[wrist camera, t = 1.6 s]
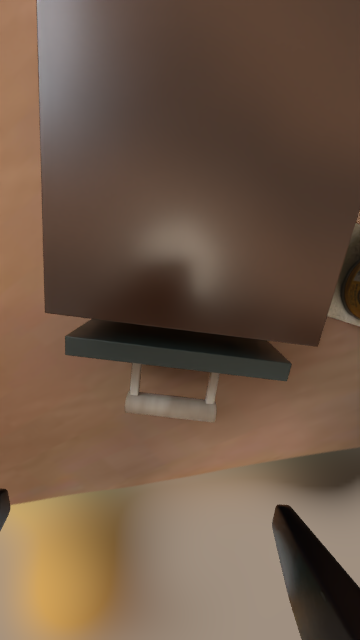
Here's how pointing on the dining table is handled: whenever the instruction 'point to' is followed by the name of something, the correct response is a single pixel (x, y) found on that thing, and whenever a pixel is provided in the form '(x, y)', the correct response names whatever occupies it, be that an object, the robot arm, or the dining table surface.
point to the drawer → (176, 361)
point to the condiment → (348, 284)
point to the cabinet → (199, 161)
